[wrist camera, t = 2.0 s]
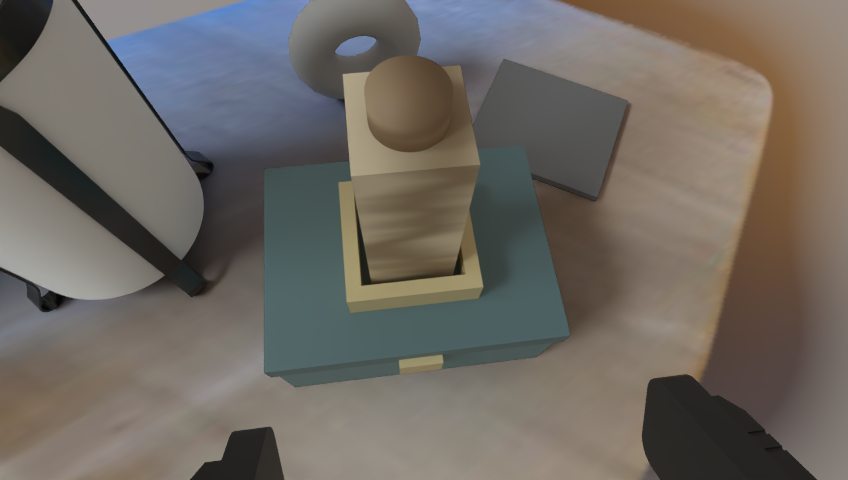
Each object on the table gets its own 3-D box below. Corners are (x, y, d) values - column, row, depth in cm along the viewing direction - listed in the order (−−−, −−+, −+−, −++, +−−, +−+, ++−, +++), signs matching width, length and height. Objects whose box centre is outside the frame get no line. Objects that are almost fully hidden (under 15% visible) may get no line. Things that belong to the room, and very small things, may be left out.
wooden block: (372, 288, 28) (346, 151, 16) (365, 216, 30) (337, 43, 18) (451, 279, 29) (486, 139, 16) (440, 208, 30) (464, 34, 18)
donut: (306, 120, 41) (278, 22, 32) (298, 88, 43) (268, -15, 33) (424, 95, 43) (429, -6, 34) (412, 64, 44) (414, -41, 35)
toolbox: (292, 397, 32) (253, 375, 24) (288, 218, 38) (254, 150, 29) (541, 366, 34) (584, 334, 26) (504, 197, 39) (531, 126, 31)
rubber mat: (461, 152, 40) (462, 147, 40) (502, 63, 44) (503, 58, 44) (594, 201, 39) (597, 197, 38) (625, 105, 43) (628, 100, 42)
